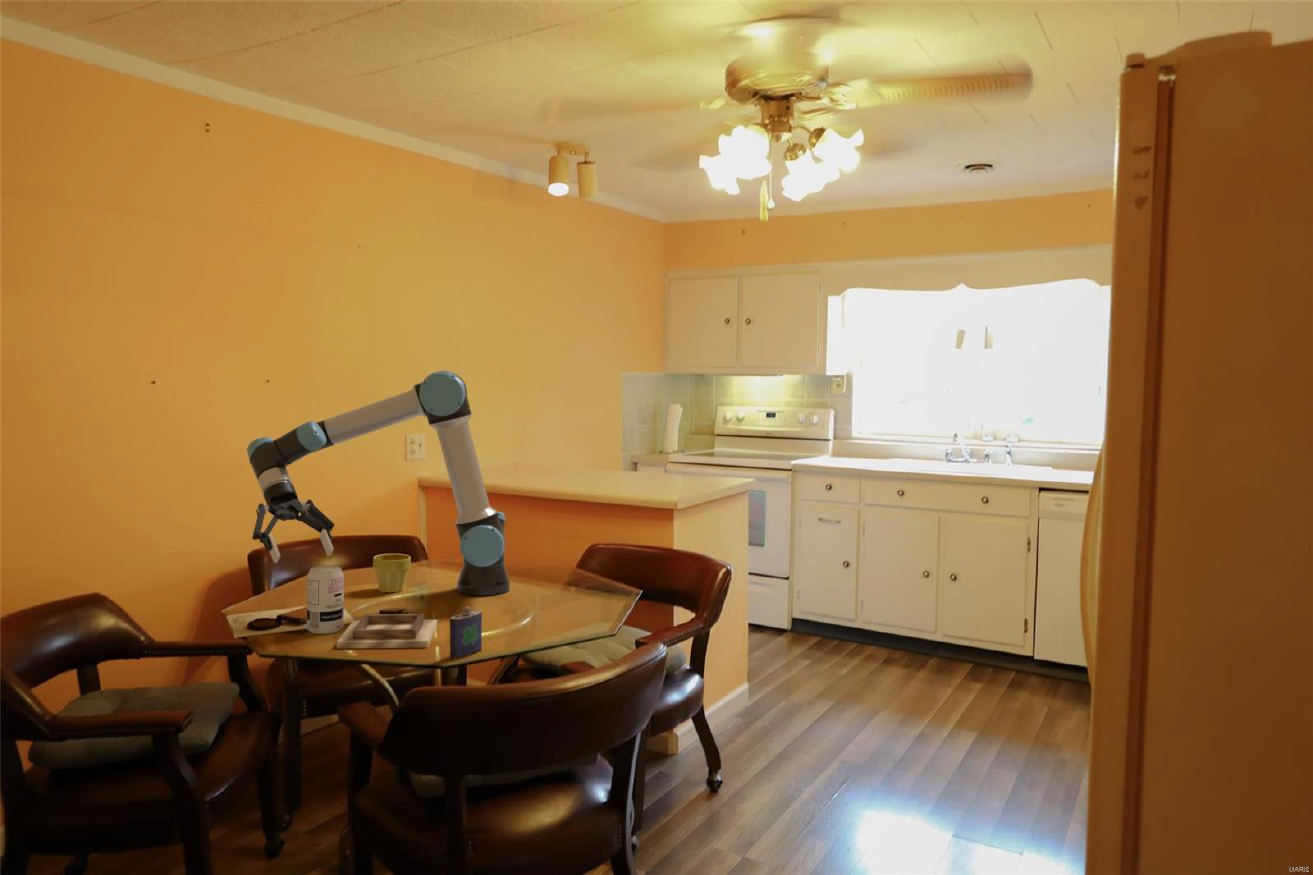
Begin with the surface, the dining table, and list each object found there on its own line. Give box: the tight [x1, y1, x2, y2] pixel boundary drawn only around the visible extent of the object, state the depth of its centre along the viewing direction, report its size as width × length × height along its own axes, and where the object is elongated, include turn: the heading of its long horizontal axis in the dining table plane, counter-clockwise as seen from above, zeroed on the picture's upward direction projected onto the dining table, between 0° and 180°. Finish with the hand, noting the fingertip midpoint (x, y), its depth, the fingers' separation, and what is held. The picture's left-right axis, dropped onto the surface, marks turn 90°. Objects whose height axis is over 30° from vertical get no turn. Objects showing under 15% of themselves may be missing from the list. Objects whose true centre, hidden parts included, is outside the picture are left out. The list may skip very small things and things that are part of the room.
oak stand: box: [336, 613, 438, 650], centre depth 206 cm, size 20×18×4 cm
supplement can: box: [306, 565, 345, 635], centre depth 210 cm, size 8×8×15 cm
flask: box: [449, 606, 483, 660], centre depth 195 cm, size 9×3×11 cm, turn 148°
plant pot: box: [372, 553, 412, 594], centre depth 250 cm, size 10×10×10 cm
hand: (304, 556), depth 216 cm, fingers open, 13 cm apart
